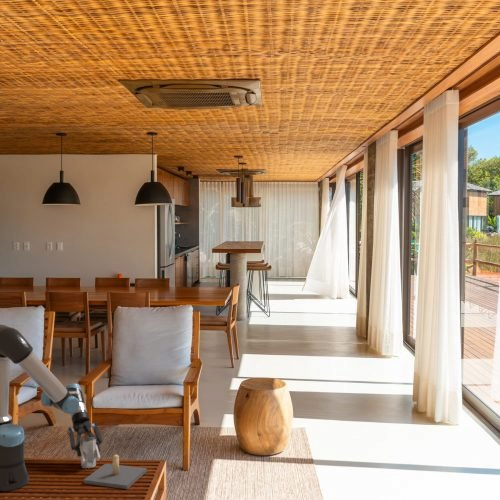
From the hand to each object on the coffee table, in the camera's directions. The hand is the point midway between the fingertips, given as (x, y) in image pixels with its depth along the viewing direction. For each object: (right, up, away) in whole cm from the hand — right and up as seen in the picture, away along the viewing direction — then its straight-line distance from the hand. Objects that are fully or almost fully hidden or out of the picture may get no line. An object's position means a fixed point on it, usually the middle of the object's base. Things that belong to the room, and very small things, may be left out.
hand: (91, 460), depth 251 cm
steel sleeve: (-2, -3, +3) cm, 5 cm away
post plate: (+13, -4, -9) cm, 17 cm away
